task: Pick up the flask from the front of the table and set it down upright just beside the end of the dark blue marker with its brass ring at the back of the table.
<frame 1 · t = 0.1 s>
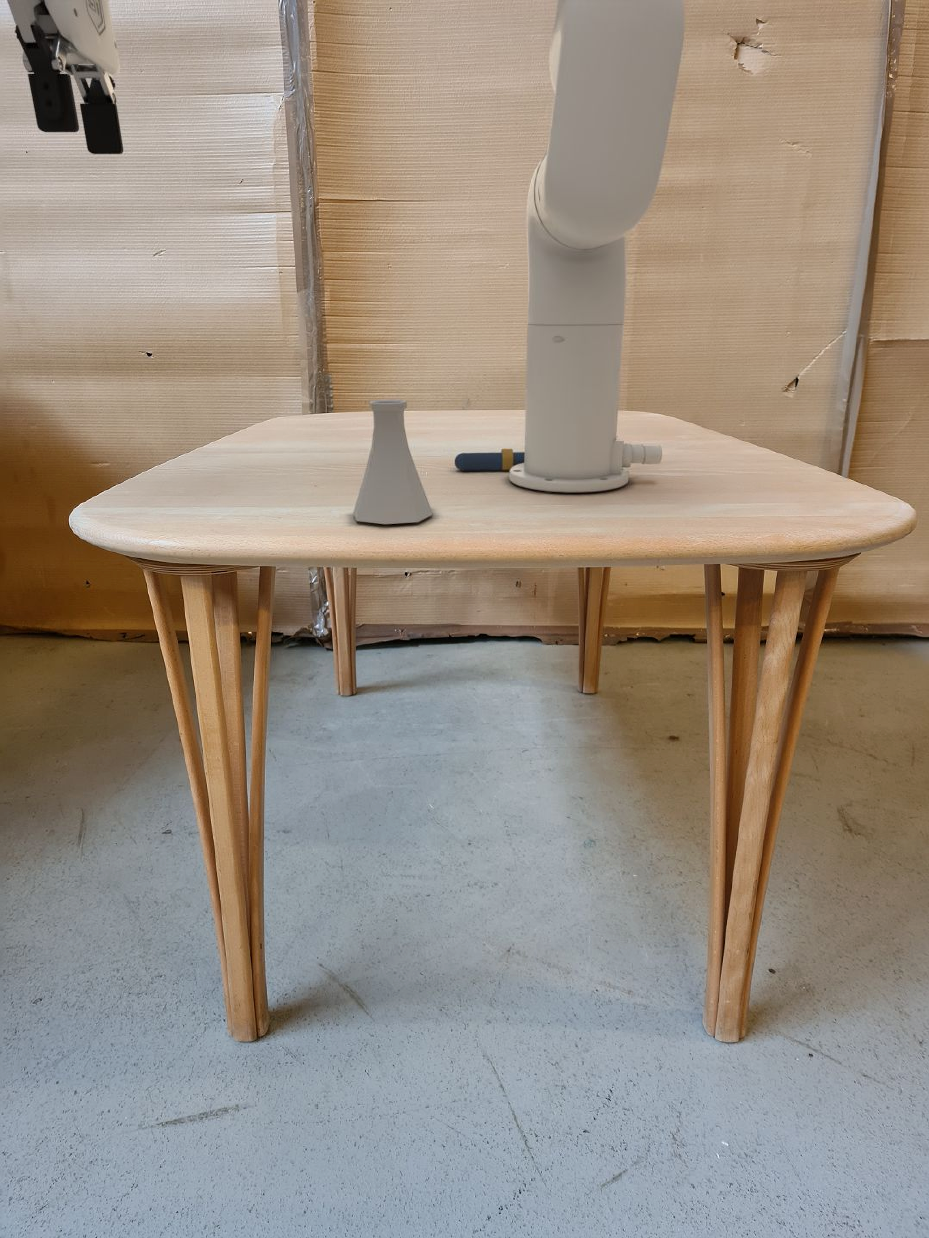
hand: (84, 143, 68), 31 cm above the table, tool pointing down, fingers open, 9 cm apart
dark blue marker: (506, 470, 87), on the table
flask: (393, 518, 68), on the table
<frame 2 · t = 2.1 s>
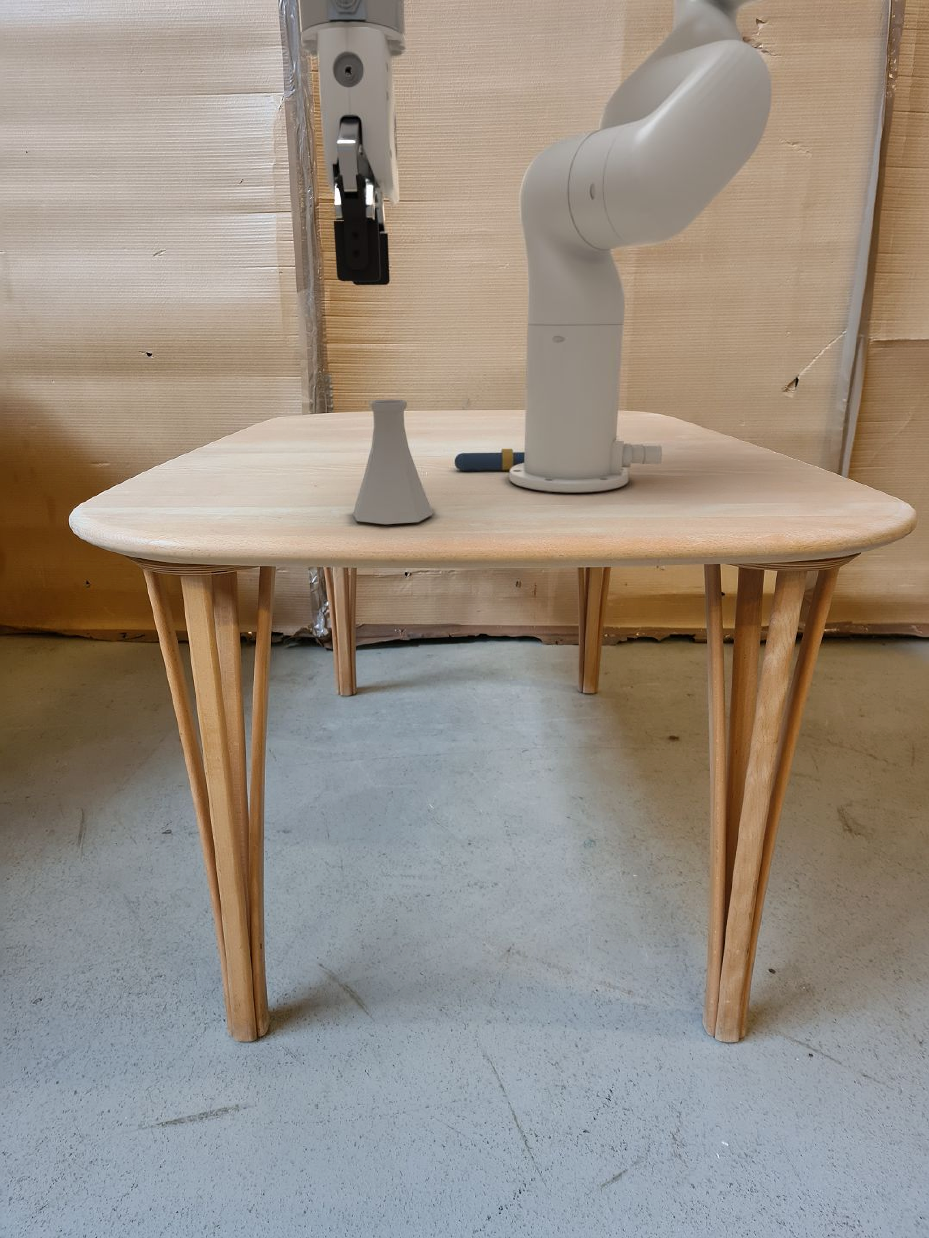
hand: (365, 283, 61), 19 cm above the table, tool pointing down, fingers open, 9 cm apart
nothing on the table moved.
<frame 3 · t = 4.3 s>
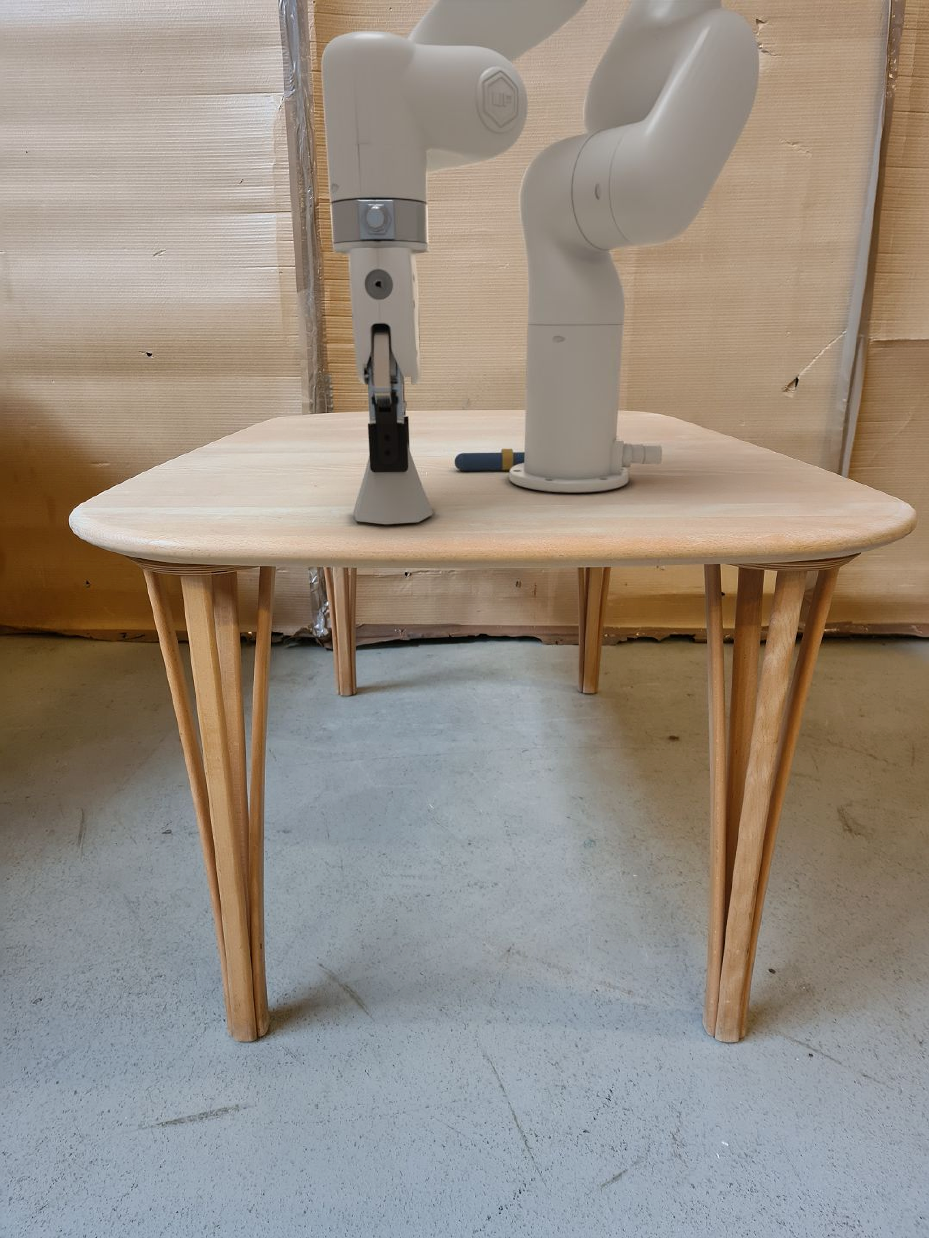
hand: (390, 464, 66), 5 cm above the table, tool pointing down, fingers closed on flask, 3 cm apart
flask: (393, 518, 68), on the table, touching gripper
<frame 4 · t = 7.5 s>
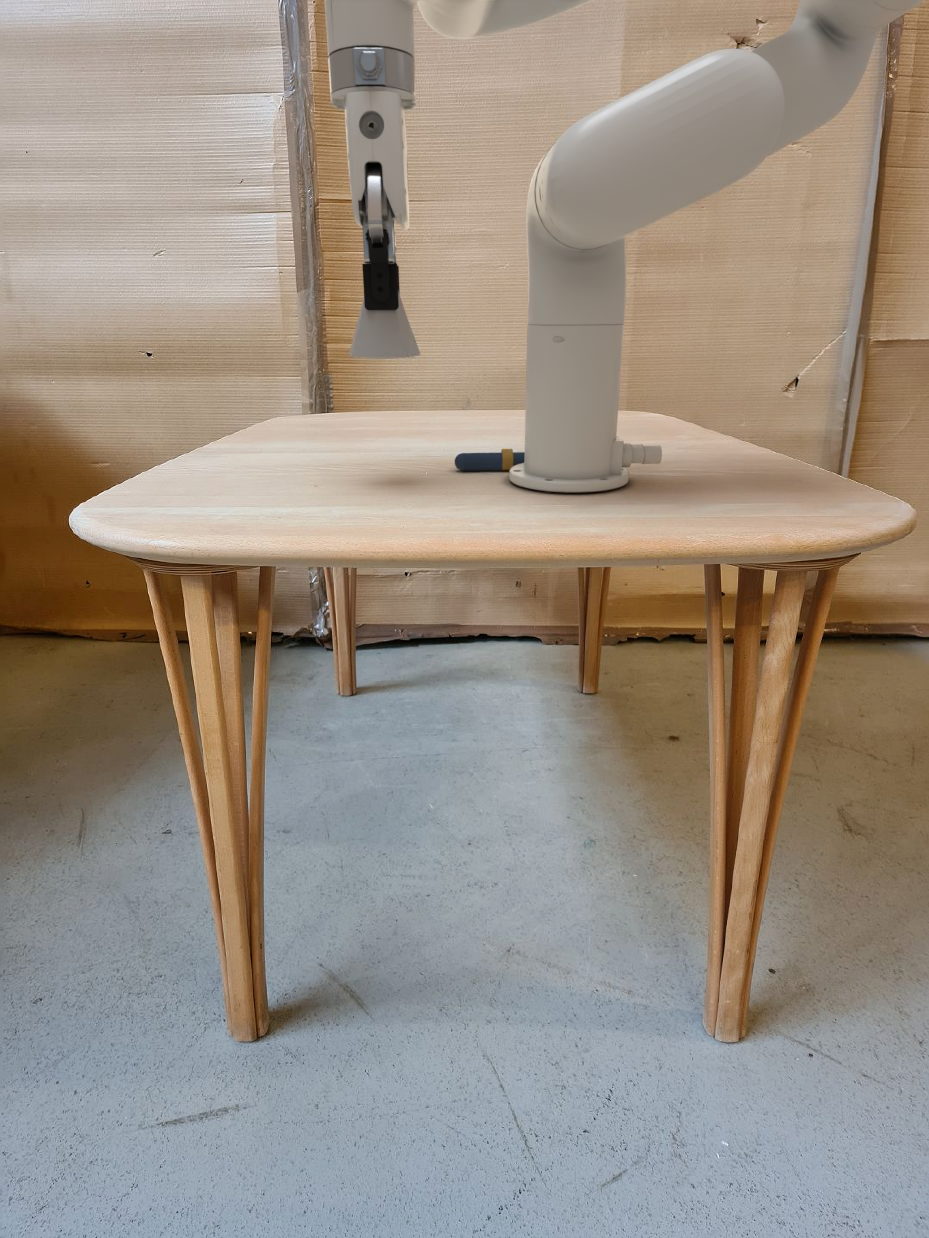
hand: (383, 308, 74), 17 cm above the table, tool pointing down, fingers closed on flask, 3 cm apart
flask: (384, 360, 76), point 12 cm above the table, touching gripper
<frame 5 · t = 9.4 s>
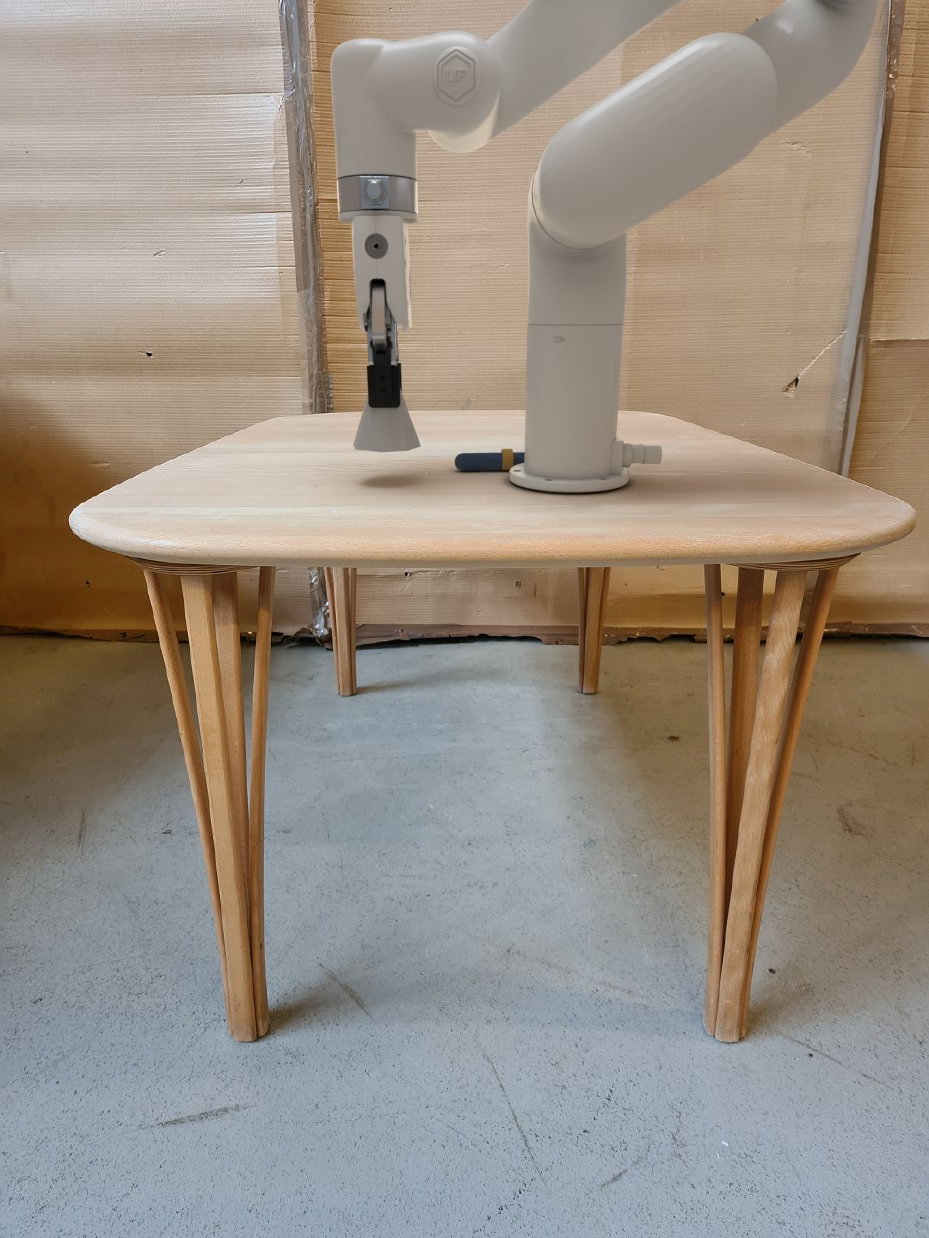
hand: (385, 403, 79), 8 cm above the table, tool pointing down, fingers closed on flask, 3 cm apart
flask: (387, 450, 80), point 3 cm above the table, touching gripper
when the fingers open (5 cm above the table, at t = 10.6 s): flask stays where it is, on the table.
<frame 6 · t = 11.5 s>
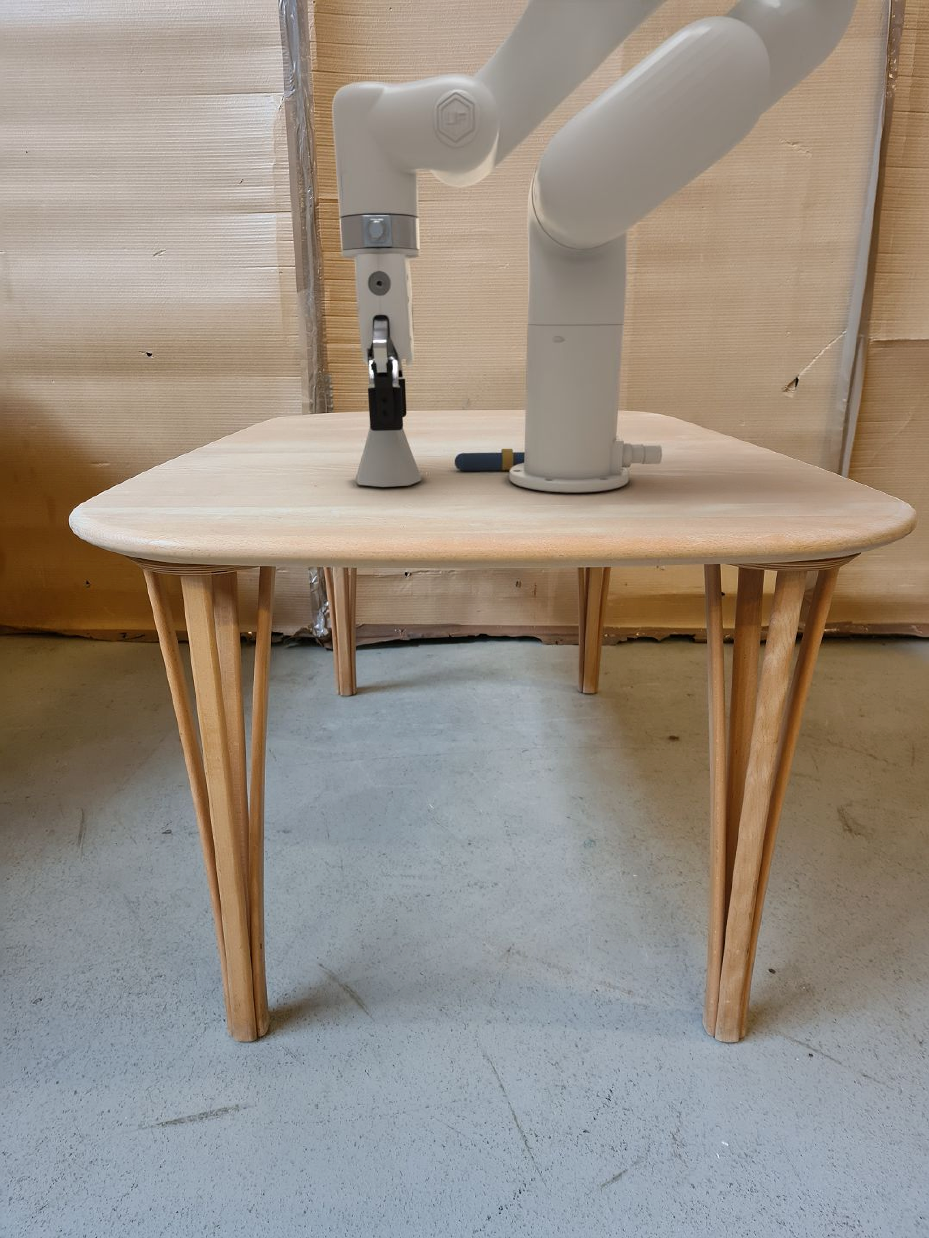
hand: (389, 423, 79), 6 cm above the table, tool pointing down, fingers open, 9 cm apart
flask: (388, 483, 82), on the table
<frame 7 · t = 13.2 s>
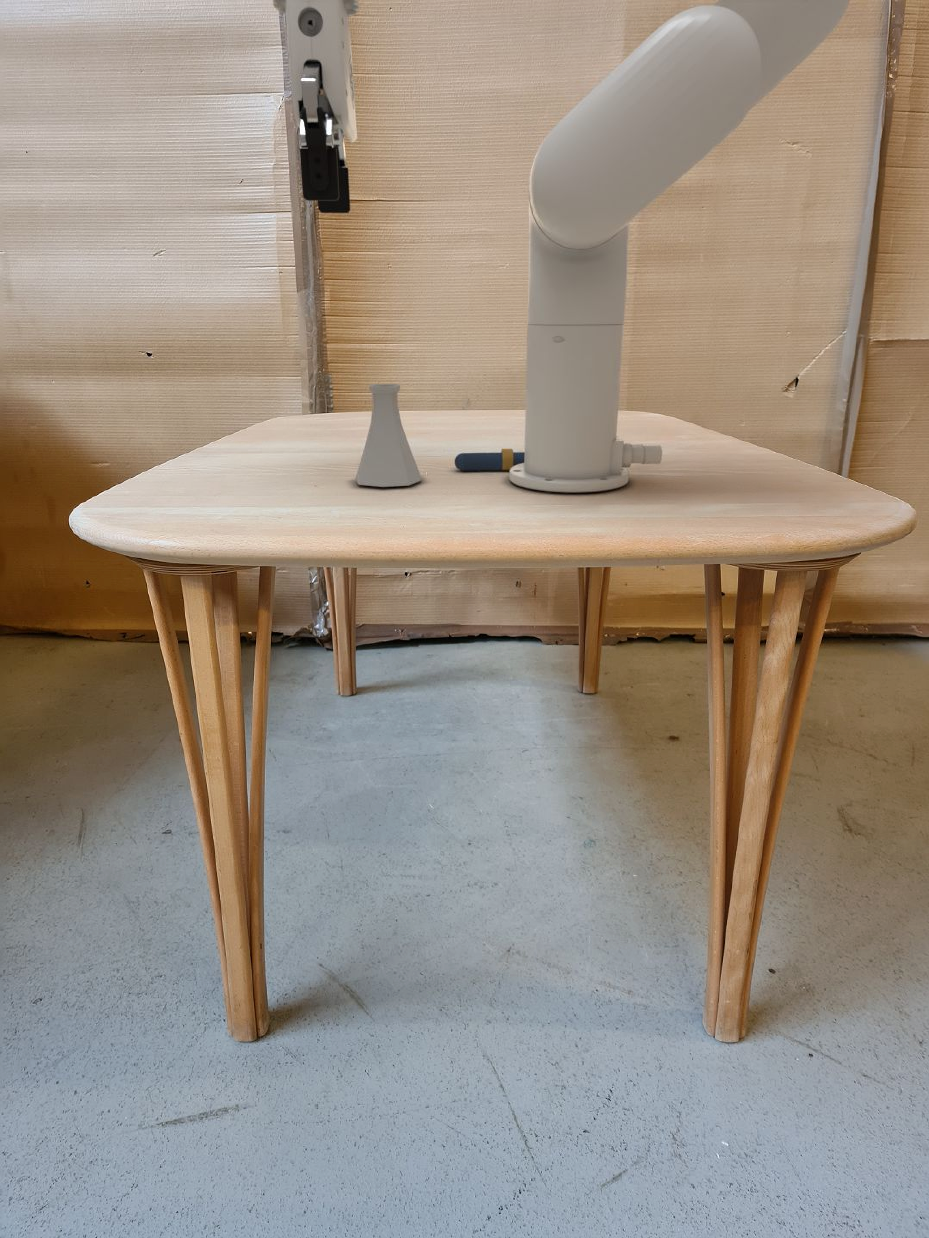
hand: (328, 207, 73), 26 cm above the table, tool pointing down, fingers open, 9 cm apart
nothing on the table moved.
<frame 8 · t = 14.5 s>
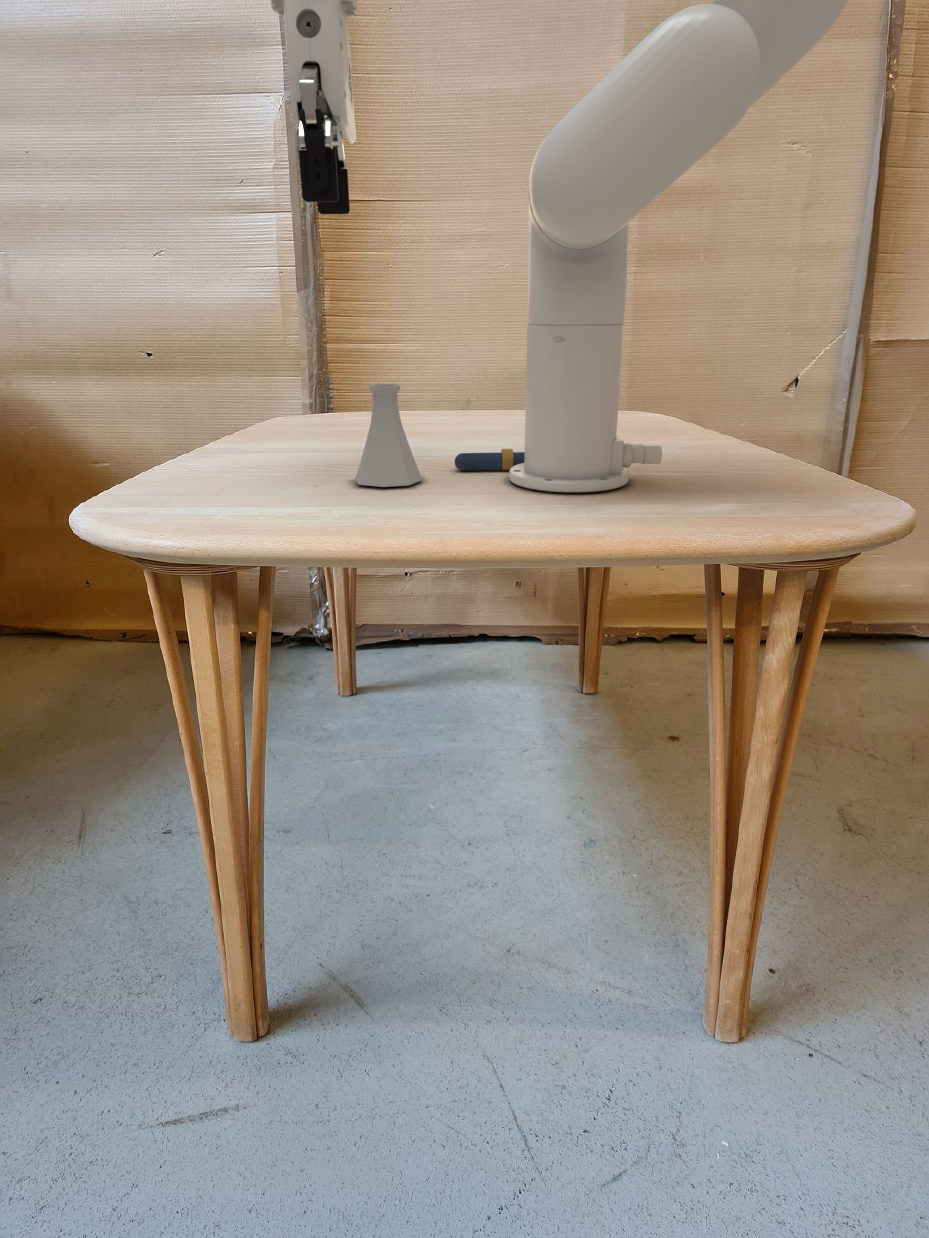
hand: (327, 208, 73), 26 cm above the table, tool pointing down, fingers open, 9 cm apart
nothing on the table moved.
at the end: flask inside the target area on the table beside the dark blue marker (0.3 cm from its centre), on the table; flask tilted 0°; the gripper is holding nothing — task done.
